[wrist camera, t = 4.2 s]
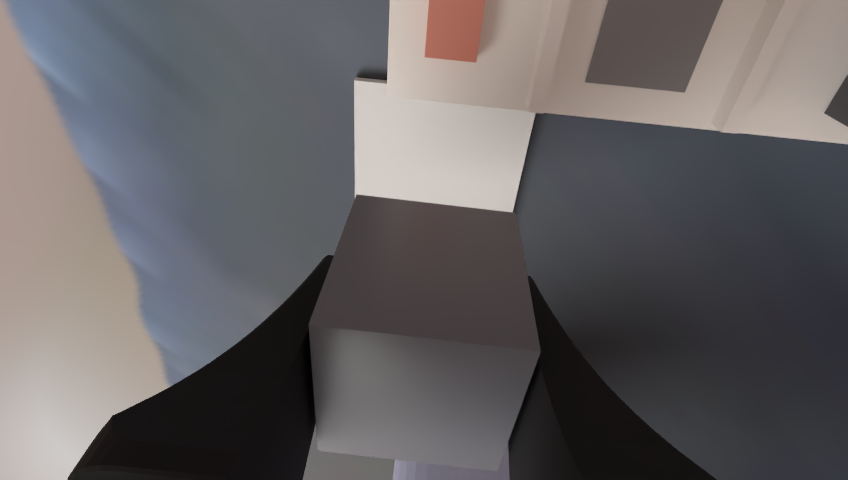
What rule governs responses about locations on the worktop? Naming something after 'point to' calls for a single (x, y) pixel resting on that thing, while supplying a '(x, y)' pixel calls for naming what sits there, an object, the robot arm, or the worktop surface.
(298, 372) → the robot arm
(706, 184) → the worktop surface
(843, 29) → the power strip
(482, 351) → the block
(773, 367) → the worktop surface
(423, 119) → the mat
